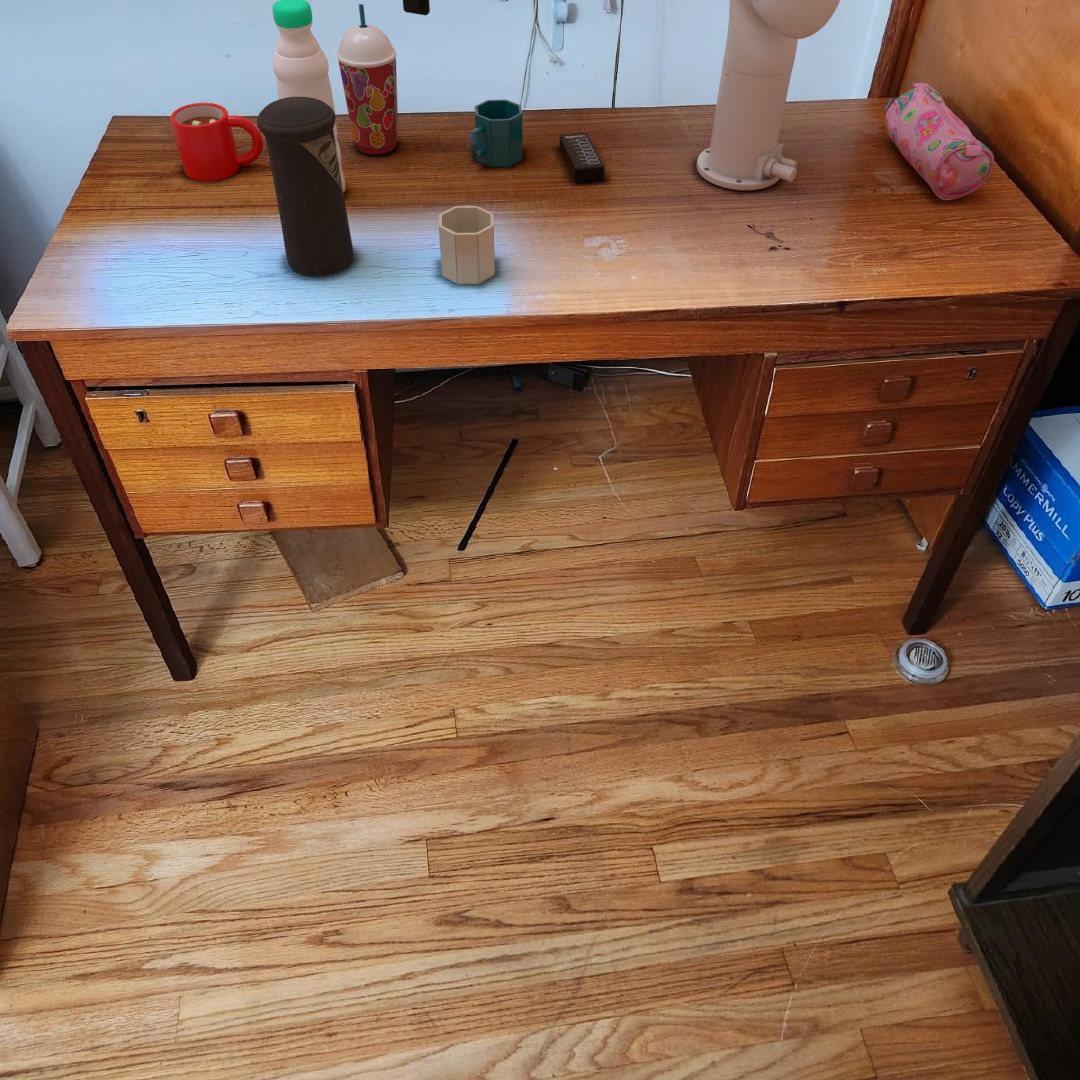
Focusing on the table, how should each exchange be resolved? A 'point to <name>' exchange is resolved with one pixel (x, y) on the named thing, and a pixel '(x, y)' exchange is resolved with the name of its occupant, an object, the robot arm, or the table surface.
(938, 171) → the pencil case
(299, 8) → the water bottle
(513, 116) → the cup far
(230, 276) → the table surface
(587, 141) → the multiport hub
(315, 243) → the container
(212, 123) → the mug
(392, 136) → the smoothie
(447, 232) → the cup near
